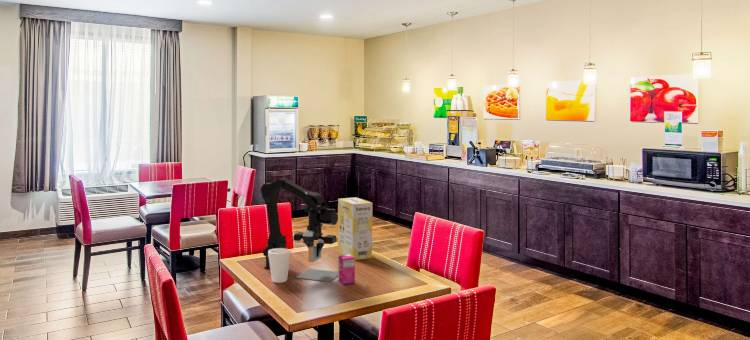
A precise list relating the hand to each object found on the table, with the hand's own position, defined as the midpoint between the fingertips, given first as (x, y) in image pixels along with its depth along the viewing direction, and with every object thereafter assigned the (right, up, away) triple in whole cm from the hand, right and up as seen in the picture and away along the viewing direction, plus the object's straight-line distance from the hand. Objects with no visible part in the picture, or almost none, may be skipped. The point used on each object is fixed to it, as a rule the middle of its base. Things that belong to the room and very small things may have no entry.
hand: (314, 256), depth 238 cm
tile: (0, -1, 0) cm, 1 cm away
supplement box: (+15, -10, -9) cm, 20 cm away
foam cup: (-14, -9, -7) cm, 19 cm away
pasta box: (+16, -5, +36) cm, 40 cm away
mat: (+2, -8, 0) cm, 9 cm away
